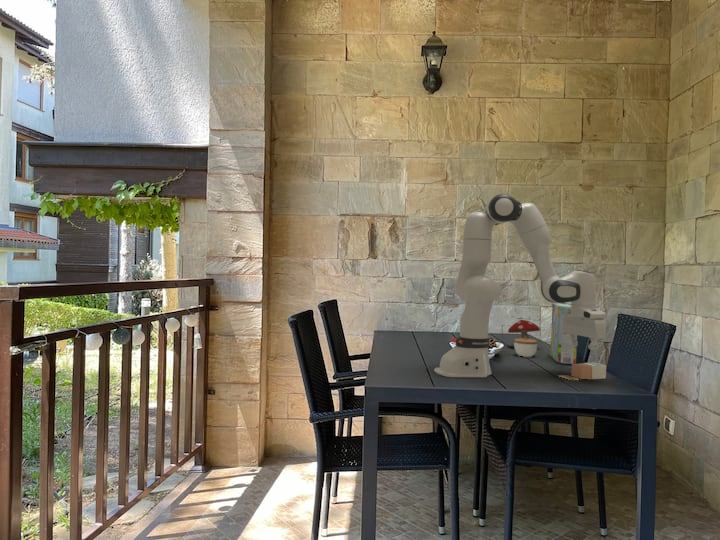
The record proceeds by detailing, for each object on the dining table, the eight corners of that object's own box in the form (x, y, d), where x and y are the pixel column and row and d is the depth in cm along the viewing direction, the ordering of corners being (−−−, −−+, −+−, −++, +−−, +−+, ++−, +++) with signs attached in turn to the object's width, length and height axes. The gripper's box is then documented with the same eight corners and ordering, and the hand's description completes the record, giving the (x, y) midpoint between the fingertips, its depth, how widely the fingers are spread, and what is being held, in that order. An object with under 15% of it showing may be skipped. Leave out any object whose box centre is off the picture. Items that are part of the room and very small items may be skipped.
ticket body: (591, 379, 199) (592, 365, 198) (581, 375, 204) (581, 362, 204) (605, 378, 200) (606, 365, 200) (594, 375, 206) (595, 362, 206)
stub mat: (569, 380, 195) (569, 379, 195) (557, 376, 202) (557, 375, 202) (579, 380, 196) (579, 379, 196) (567, 376, 203) (567, 375, 203)
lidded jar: (539, 356, 248) (540, 336, 248) (533, 359, 239) (534, 339, 239) (517, 353, 254) (517, 334, 254) (510, 356, 245) (511, 336, 245)
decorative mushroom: (505, 349, 266) (506, 320, 266) (509, 345, 281) (510, 317, 281) (538, 352, 260) (539, 322, 260) (540, 347, 275) (541, 319, 274)
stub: (582, 379, 197) (582, 366, 197) (571, 376, 203) (571, 363, 203) (590, 379, 198) (591, 366, 198) (580, 376, 204) (580, 363, 204)
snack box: (578, 365, 227) (579, 306, 227) (557, 364, 229) (558, 306, 228) (568, 356, 248) (569, 303, 248) (549, 355, 250) (550, 302, 250)
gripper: (559, 309, 209) (558, 343, 210) (595, 314, 190) (594, 352, 190) (572, 309, 211) (571, 343, 211) (609, 314, 192) (608, 351, 192)
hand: (582, 347), depth 201 cm, fingers open, 8 cm apart
